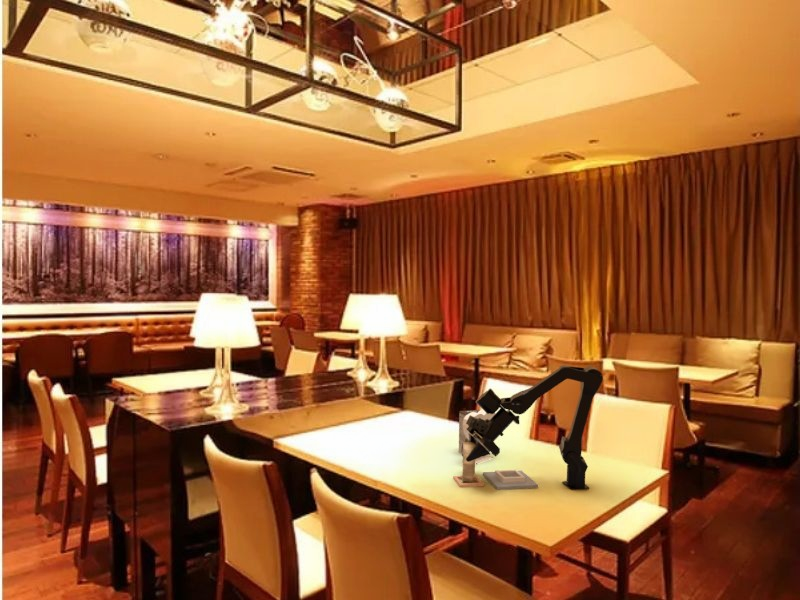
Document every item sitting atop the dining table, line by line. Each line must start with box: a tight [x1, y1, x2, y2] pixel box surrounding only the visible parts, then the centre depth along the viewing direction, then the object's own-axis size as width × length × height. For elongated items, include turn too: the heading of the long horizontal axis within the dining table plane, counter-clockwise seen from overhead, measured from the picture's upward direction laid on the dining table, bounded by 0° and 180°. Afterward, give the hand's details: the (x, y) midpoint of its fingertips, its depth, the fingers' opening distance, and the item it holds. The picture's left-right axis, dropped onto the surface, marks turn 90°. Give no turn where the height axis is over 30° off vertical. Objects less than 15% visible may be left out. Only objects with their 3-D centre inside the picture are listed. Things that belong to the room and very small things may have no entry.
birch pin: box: [461, 442, 476, 483], centre depth 189 cm, size 4×4×12 cm
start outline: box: [452, 474, 485, 488], centre depth 189 cm, size 8×8×1 cm
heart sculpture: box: [463, 409, 496, 465], centre depth 212 cm, size 16×5×18 cm, turn 134°
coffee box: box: [458, 409, 481, 455], centre depth 221 cm, size 9×6×16 cm
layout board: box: [482, 469, 539, 491], centre depth 191 cm, size 14×14×2 cm
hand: (464, 458), depth 189 cm, fingers closed on birch pin, 4 cm apart
